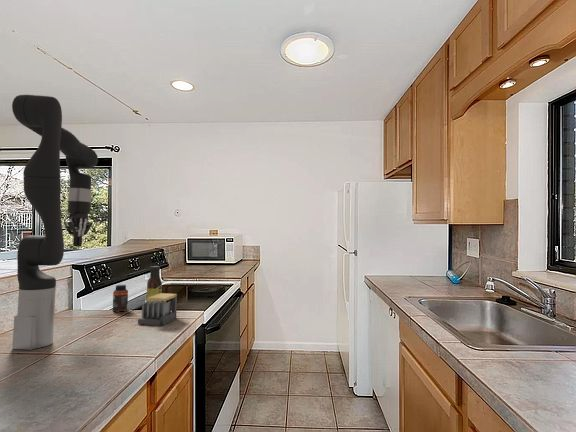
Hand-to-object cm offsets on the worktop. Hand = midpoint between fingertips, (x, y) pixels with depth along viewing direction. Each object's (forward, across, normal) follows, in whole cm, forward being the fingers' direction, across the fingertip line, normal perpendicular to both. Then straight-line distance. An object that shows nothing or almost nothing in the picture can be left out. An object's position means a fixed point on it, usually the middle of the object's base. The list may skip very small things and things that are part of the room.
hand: (77, 246), depth 131 cm
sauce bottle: (+29, +24, -19) cm, 42 cm away
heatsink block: (+29, +9, -28) cm, 41 cm away
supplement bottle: (+29, +23, -4) cm, 37 cm away
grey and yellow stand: (+29, +9, -28) cm, 41 cm away
